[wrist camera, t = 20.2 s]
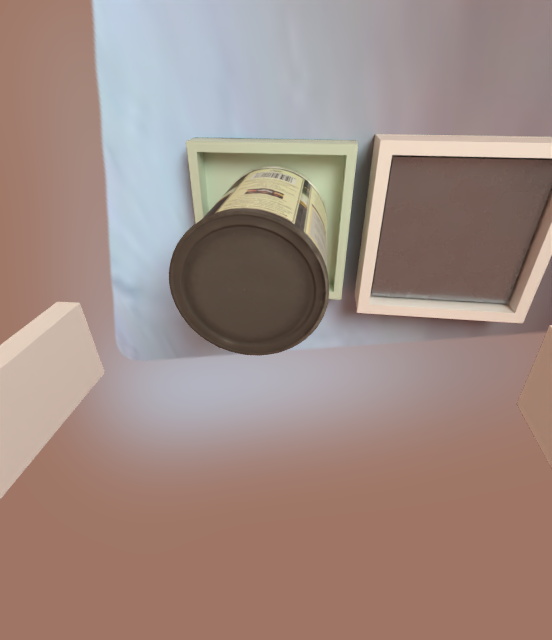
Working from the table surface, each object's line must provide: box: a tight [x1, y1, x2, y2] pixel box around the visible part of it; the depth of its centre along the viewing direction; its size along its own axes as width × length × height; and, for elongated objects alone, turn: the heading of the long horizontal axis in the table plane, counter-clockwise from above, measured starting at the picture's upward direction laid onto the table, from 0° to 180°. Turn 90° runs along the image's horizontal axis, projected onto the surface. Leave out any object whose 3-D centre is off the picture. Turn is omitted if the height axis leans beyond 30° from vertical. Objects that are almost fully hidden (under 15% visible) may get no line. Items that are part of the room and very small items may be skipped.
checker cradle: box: [355, 134, 552, 323], centre depth 33 cm, size 15×15×4 cm
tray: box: [186, 138, 358, 300], centre depth 35 cm, size 14×14×2 cm
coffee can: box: [169, 166, 329, 355], centre depth 30 cm, size 10×10×14 cm
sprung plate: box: [371, 155, 552, 303], centre depth 32 cm, size 12×12×1 cm
